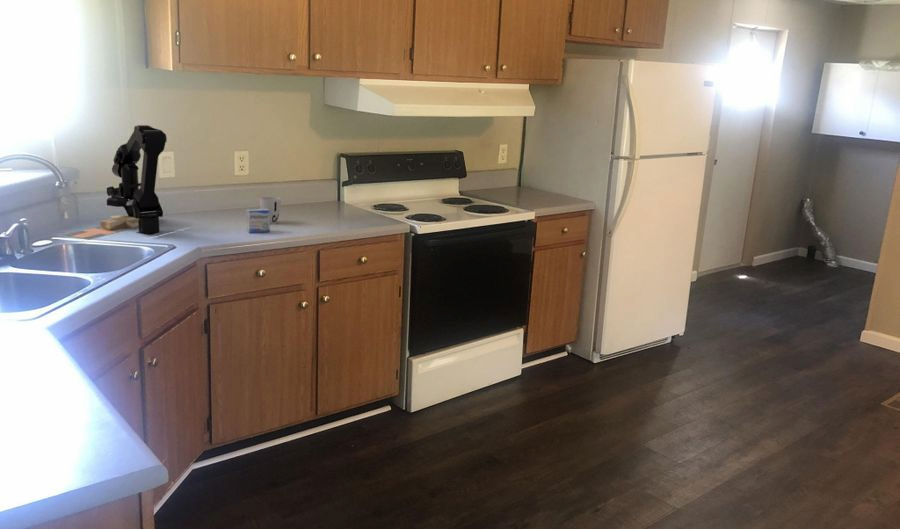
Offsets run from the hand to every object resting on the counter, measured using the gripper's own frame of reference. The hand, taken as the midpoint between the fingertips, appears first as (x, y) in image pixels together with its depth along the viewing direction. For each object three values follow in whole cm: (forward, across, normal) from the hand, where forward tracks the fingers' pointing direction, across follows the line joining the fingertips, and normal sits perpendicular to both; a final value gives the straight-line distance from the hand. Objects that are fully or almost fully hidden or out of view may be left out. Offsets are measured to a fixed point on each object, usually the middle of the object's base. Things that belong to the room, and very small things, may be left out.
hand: (132, 221), depth 273 cm
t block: (+1, +8, 0) cm, 8 cm away
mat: (+2, +14, 0) cm, 14 cm away
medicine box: (+2, -17, +44) cm, 47 cm away
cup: (+2, -33, +39) cm, 51 cm away
